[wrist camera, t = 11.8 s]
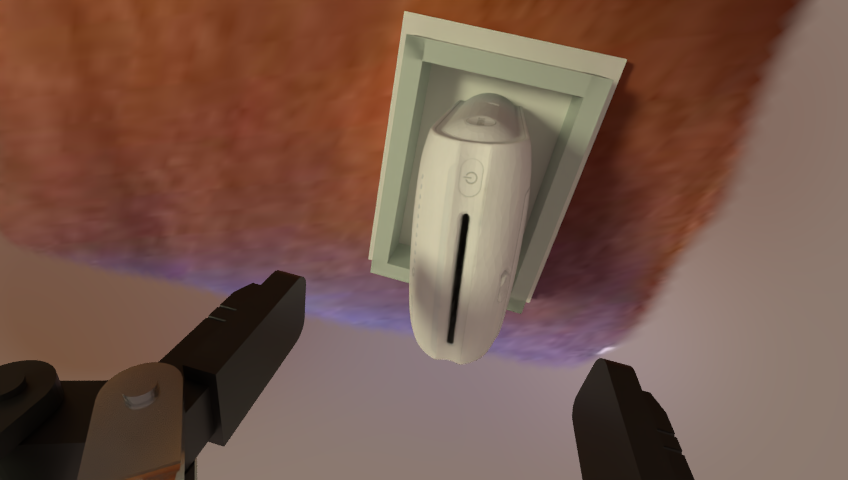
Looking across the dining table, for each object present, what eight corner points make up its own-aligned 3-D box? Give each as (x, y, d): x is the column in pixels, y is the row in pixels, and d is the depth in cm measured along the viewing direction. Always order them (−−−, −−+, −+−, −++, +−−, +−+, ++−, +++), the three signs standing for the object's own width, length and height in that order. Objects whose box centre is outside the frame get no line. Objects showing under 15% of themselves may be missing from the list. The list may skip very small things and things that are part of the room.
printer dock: (408, 12, 22) (389, 6, 18) (622, 58, 21) (645, 61, 17) (372, 252, 30) (354, 280, 26) (528, 294, 29) (531, 329, 25)
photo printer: (453, 86, 22) (402, 125, 11) (530, 93, 22) (552, 142, 11) (438, 245, 27) (391, 379, 16) (500, 254, 26) (495, 400, 16)
